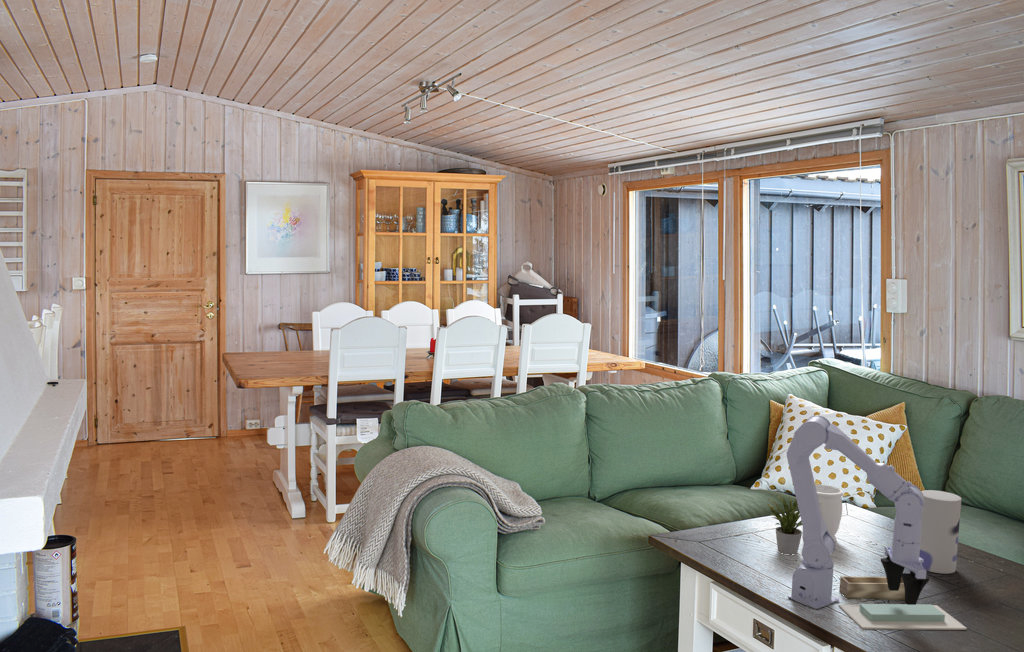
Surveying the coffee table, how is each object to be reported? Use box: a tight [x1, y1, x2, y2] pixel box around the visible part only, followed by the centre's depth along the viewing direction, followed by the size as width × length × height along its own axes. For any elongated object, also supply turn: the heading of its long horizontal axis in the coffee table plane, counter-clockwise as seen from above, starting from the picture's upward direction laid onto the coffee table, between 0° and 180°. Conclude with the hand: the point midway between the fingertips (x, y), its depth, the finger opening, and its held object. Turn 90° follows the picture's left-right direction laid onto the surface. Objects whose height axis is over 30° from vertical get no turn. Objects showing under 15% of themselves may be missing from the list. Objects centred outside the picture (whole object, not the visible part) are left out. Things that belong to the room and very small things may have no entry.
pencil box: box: [839, 575, 905, 601], centre depth 203 cm, size 16×4×4 cm, turn 93°
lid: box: [859, 603, 945, 622], centre depth 191 cm, size 17×6×2 cm, turn 93°
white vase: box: [815, 484, 844, 542], centre depth 243 cm, size 11×10×15 cm
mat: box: [838, 603, 968, 631], centre depth 191 cm, size 24×12×1 cm, turn 93°
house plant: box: [767, 494, 803, 556], centre depth 231 cm, size 14×14×16 cm
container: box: [919, 489, 962, 574], centre depth 222 cm, size 10×10×20 cm
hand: (901, 596), depth 190 cm, fingers open, 7 cm apart
